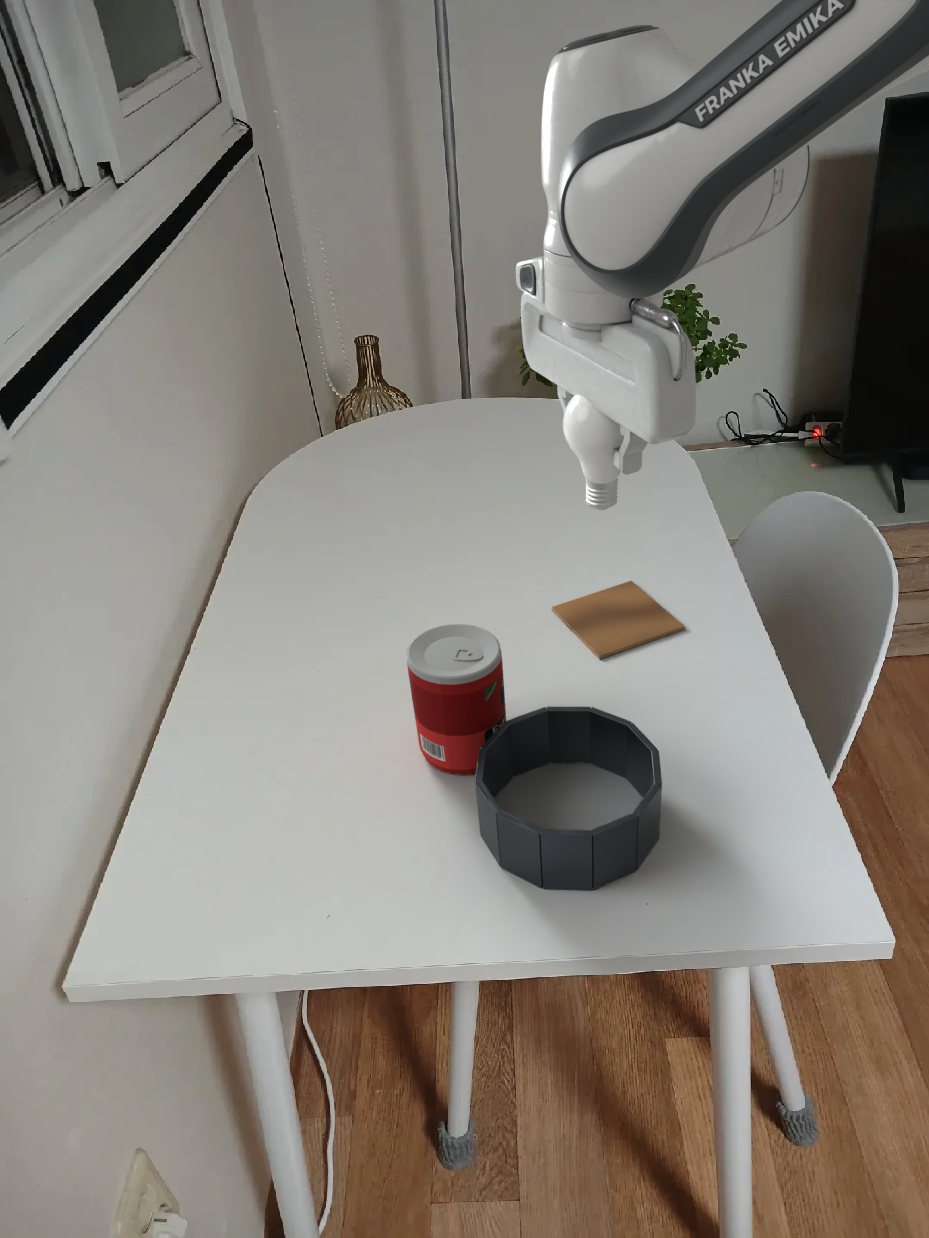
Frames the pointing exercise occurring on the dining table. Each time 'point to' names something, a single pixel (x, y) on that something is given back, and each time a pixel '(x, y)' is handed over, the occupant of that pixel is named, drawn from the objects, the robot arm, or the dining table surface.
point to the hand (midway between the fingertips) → (602, 452)
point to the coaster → (616, 619)
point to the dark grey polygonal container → (562, 851)
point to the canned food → (456, 694)
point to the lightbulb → (594, 449)
